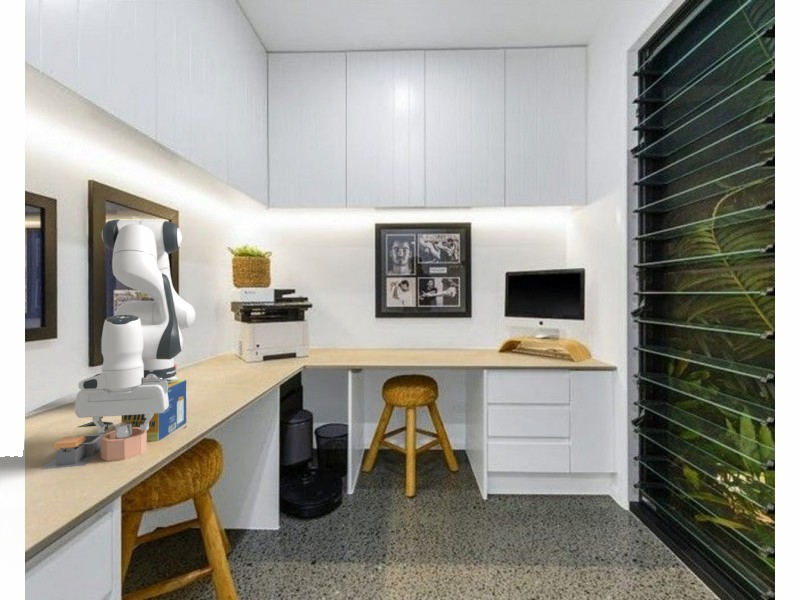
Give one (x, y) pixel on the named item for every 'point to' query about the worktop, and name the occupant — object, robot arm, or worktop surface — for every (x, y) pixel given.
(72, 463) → the gray square socket tray
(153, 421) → the protein box
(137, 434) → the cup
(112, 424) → the phone
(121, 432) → the cell
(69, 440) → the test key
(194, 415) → the worktop surface
